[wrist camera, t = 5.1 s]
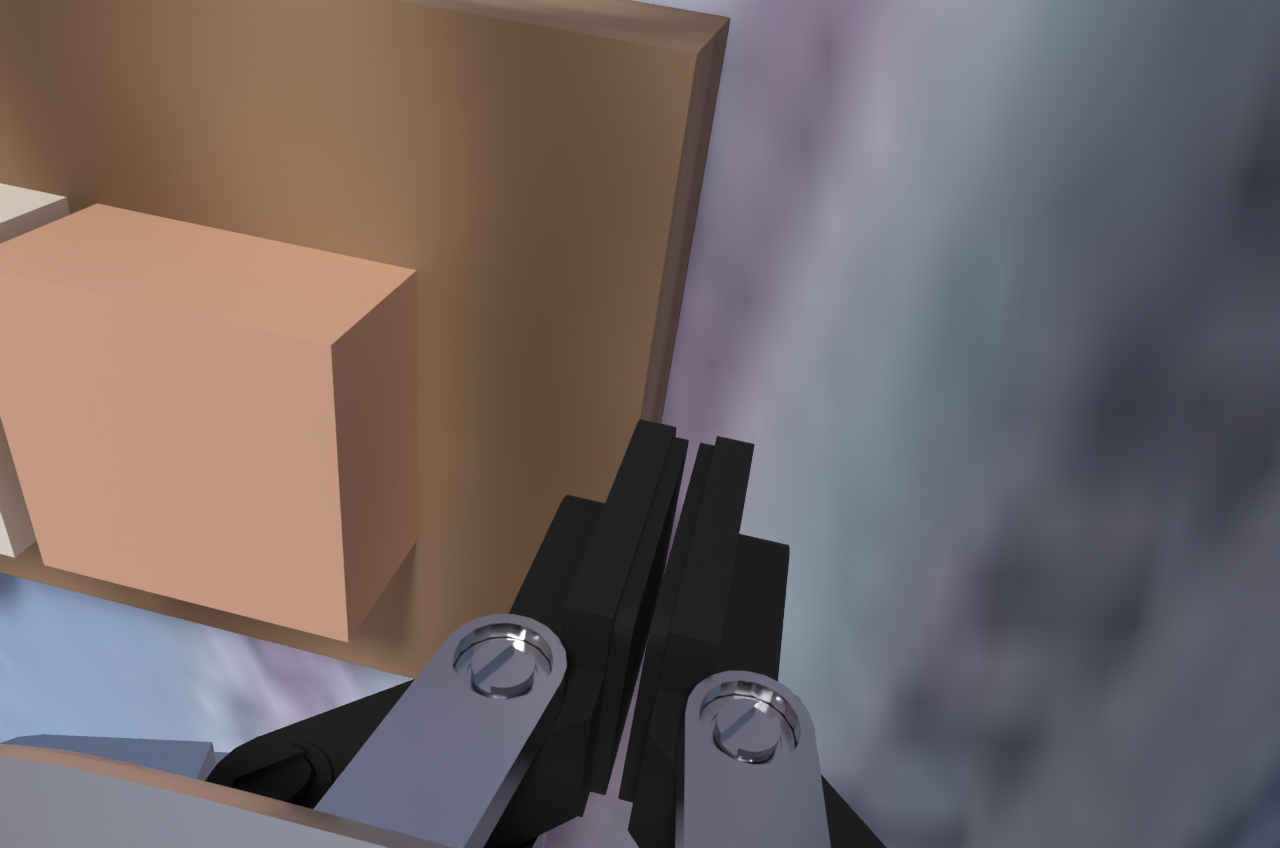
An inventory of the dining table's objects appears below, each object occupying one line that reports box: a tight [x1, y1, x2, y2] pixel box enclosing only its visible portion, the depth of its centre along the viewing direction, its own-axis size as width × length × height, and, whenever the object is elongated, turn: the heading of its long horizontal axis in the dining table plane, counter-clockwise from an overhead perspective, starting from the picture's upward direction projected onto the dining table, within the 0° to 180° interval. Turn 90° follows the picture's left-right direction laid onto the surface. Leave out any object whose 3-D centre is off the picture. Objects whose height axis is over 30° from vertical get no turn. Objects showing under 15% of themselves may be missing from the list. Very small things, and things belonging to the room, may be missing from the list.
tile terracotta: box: [0, 204, 417, 643], centre depth 13 cm, size 5×5×2 cm
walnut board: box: [0, 0, 730, 679], centre depth 16 cm, size 16×12×4 cm
